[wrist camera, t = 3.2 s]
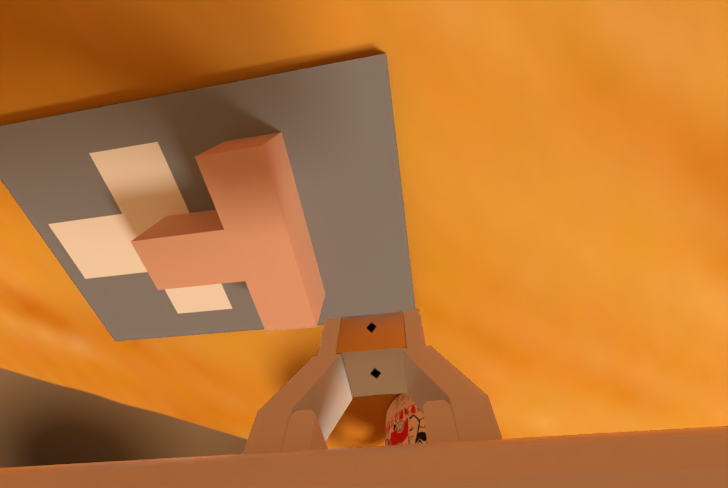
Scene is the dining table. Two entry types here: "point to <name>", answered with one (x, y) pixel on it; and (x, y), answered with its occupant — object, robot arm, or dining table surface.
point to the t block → (243, 235)
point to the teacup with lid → (404, 422)
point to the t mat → (190, 194)
